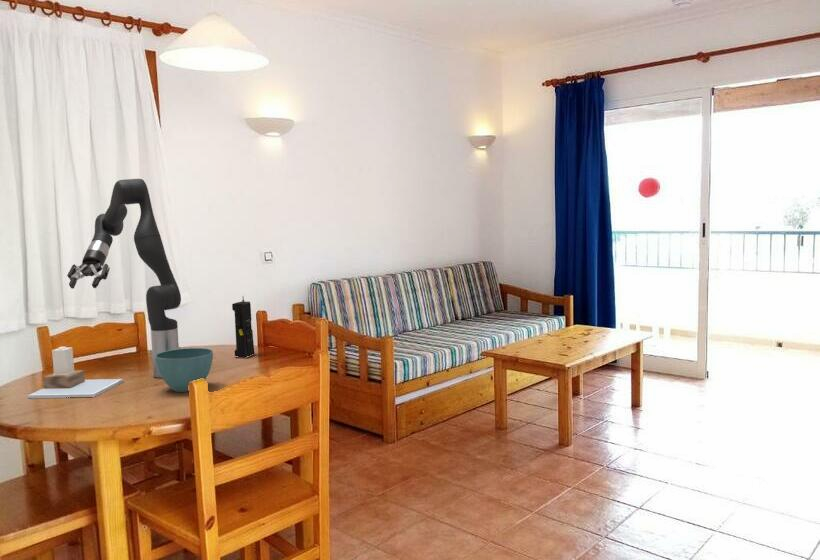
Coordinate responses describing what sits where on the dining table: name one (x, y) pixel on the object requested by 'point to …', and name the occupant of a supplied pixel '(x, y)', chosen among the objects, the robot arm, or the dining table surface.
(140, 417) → the dining table surface
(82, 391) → the build board
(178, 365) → the teal bowl
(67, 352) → the block
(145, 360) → the dining table surface
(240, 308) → the portable radio
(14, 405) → the dining table surface
